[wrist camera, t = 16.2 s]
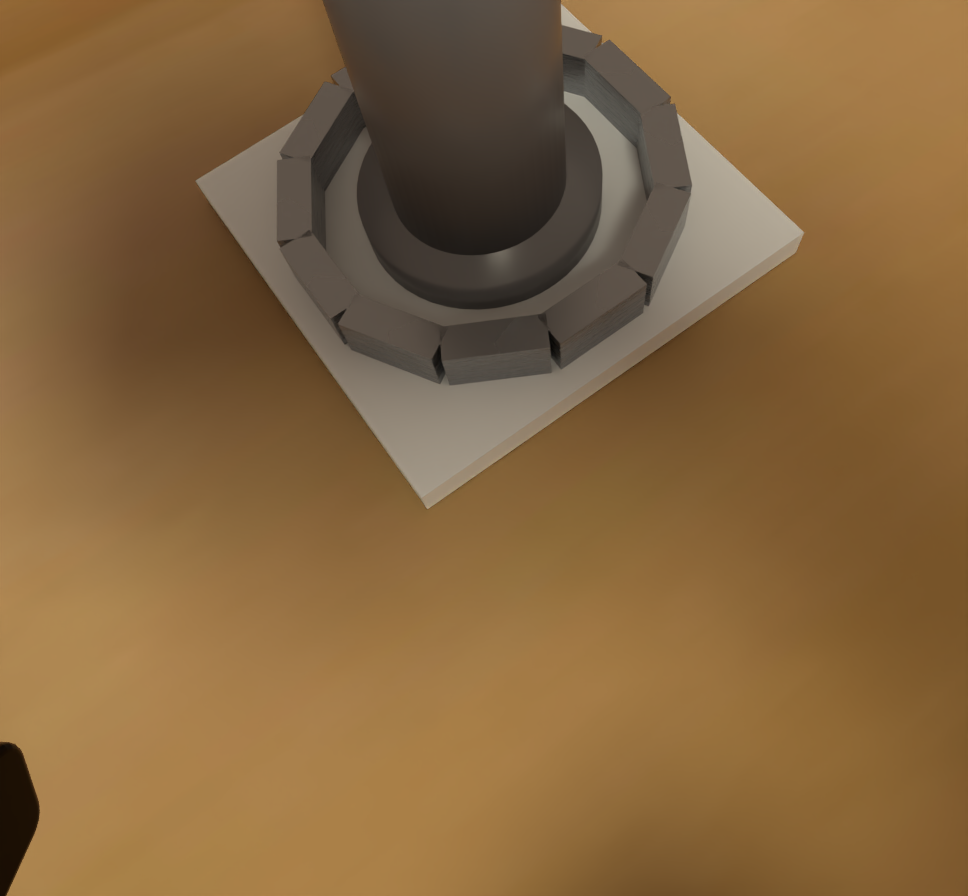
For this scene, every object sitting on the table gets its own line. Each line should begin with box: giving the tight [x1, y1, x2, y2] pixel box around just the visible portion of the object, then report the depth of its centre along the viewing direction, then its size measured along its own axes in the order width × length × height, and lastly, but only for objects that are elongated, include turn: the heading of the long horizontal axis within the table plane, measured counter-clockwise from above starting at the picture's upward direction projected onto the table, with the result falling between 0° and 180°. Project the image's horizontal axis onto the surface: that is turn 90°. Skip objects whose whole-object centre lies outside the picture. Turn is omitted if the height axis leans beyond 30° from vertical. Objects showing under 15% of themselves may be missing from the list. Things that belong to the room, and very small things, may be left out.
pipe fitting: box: [323, 0, 603, 310], centre depth 19 cm, size 7×7×13 cm
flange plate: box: [196, 4, 804, 509], centre depth 25 cm, size 13×13×2 cm
